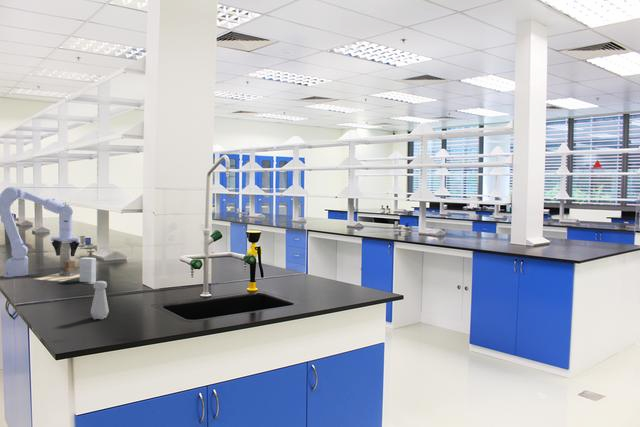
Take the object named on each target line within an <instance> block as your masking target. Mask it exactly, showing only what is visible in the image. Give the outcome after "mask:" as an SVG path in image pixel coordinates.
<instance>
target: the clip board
mask: <svg viewBox="0 0 640 427" xmlns="http://www.w3.org/2000/svg"><path fill="white" fill-rule="evenodd" d="M79 277H80V269H76V268H75V271H71V272H67V271H63V270H59V271H58V272H57V273H53V274H48V275H44V276H39V277H35V278H33V280H40V281H54V282H65V281H69V280H73V279H77V278H78V279H79Z"/></svg>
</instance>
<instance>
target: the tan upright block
mask: <svg viewBox="0 0 640 427" xmlns="http://www.w3.org/2000/svg"><path fill="white" fill-rule="evenodd" d="M62 267H63V269H62V271H67V272H71V271H75V269H76V260H66V261H63V266H62Z"/></svg>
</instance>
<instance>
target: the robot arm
mask: <svg viewBox="0 0 640 427" xmlns="http://www.w3.org/2000/svg"><path fill="white" fill-rule="evenodd" d="M24 199H26V200H29V201H31V202H34V203H36V204H39V205H41V206H43V208H44V209H45V210H47V211H49V212H52V213H54V214H57V215H60V219H59V236H54V237H53V236H52V237H50V242H51V245H52V247H53V248H54V251H55V255H56V256H57V257H58V256H61V247H62V243H63V242H67V243H69V247H70V257H75V254H76V252H77V249H78V248H79V246H80V243H81V238H80V237H79V238H77V237H73V213H74V212H73V208H72V207H71V206H70V205H68V204H65V203H64V202H63V203H62V202H60V201H57V200H56V199H55V198H47V199H45V198H44V197H40V196H38V195H37V194H34V193H32V192H29V191H28V190H24V189H19V188H17V187H14V186H12V187H11V186H9V187H7V188H5V189H4V190H3V191H2V192H0V219H1V221H2V224H3V226H4V229H5V231H6V234H7V237H8V240H9V243H10V247H11V252H10V253H11V254H10V255H11V256H12V257H10V258H8V259H7V260H6V261H5V265H4V272H5V273H4V275H3V277H4V278H13V277H25V276H28V275H29V257H28V256H27V255H28V253H29V248H28V246H27V245H25V243H24V241H23V239H22V237H21V236H20V232H19V229H18V227H17V224H16V222H15V220H14V216H13V213H12V211H11V207H12V205H13V203H14V202H15V201H16V200H24Z"/></svg>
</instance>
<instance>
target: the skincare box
mask: <svg viewBox="0 0 640 427" xmlns="http://www.w3.org/2000/svg"><path fill="white" fill-rule="evenodd" d="M79 270H80V277H78V280H79V283H80V282H82V284H84V285H92V284H93V285H94V282H96V281H97V258H96V257H80V258H79Z"/></svg>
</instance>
